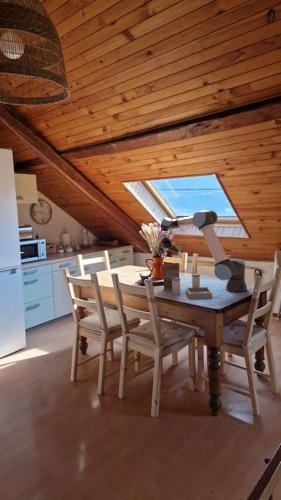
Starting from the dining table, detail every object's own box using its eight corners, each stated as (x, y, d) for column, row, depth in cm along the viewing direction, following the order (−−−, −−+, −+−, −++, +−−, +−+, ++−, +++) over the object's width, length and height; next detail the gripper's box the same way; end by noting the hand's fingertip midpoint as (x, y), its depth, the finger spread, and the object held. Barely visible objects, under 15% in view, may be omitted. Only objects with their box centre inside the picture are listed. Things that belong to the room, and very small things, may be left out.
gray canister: (181, 293, 255) (181, 277, 253) (178, 295, 250) (178, 279, 248) (174, 293, 258) (174, 277, 256) (170, 294, 253) (170, 278, 251)
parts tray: (186, 292, 259) (186, 287, 258) (207, 291, 259) (207, 287, 258) (189, 298, 243) (189, 293, 242) (212, 297, 243) (212, 292, 242)
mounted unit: (163, 288, 272) (163, 263, 269) (179, 287, 272) (178, 262, 269) (164, 290, 264) (163, 265, 261) (180, 290, 264) (179, 264, 261)
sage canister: (201, 289, 265) (200, 274, 263) (198, 291, 260) (198, 275, 258) (193, 288, 268) (193, 273, 266) (190, 290, 263) (190, 275, 261)
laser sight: (144, 289, 270) (143, 277, 268) (138, 283, 292) (137, 271, 290) (156, 288, 272) (156, 276, 270) (149, 282, 294) (149, 270, 292)
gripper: (177, 246, 293) (186, 261, 276) (150, 243, 283) (158, 258, 266) (180, 239, 289) (189, 253, 272) (152, 235, 280) (161, 250, 263)
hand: (174, 255), depth 269 cm, fingers open, 13 cm apart
